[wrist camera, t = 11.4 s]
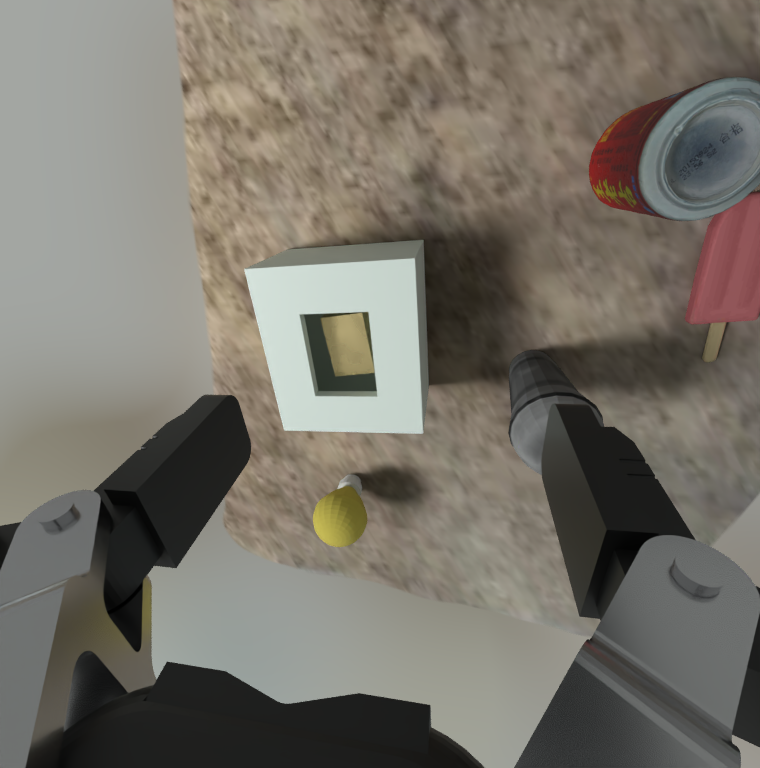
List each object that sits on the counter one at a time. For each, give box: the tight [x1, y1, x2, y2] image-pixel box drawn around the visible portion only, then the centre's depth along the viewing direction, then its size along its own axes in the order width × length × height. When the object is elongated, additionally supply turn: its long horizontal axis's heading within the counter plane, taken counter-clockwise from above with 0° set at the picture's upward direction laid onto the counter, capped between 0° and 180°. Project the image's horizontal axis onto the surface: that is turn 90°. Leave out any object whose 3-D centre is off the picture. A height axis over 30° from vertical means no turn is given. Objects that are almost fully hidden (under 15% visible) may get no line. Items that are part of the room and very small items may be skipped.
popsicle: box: [685, 192, 760, 362], centre depth 35 cm, size 5×2×15 cm
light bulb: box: [313, 474, 367, 547], centre depth 49 cm, size 7×7×10 cm
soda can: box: [589, 77, 760, 221], centre depth 26 cm, size 7×7×12 cm
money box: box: [244, 240, 429, 434], centre depth 38 cm, size 16×14×10 cm
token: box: [320, 312, 375, 376], centre depth 38 cm, size 6×4×4 cm, turn 10°
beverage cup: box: [509, 350, 604, 475], centre depth 33 cm, size 7×7×20 cm
